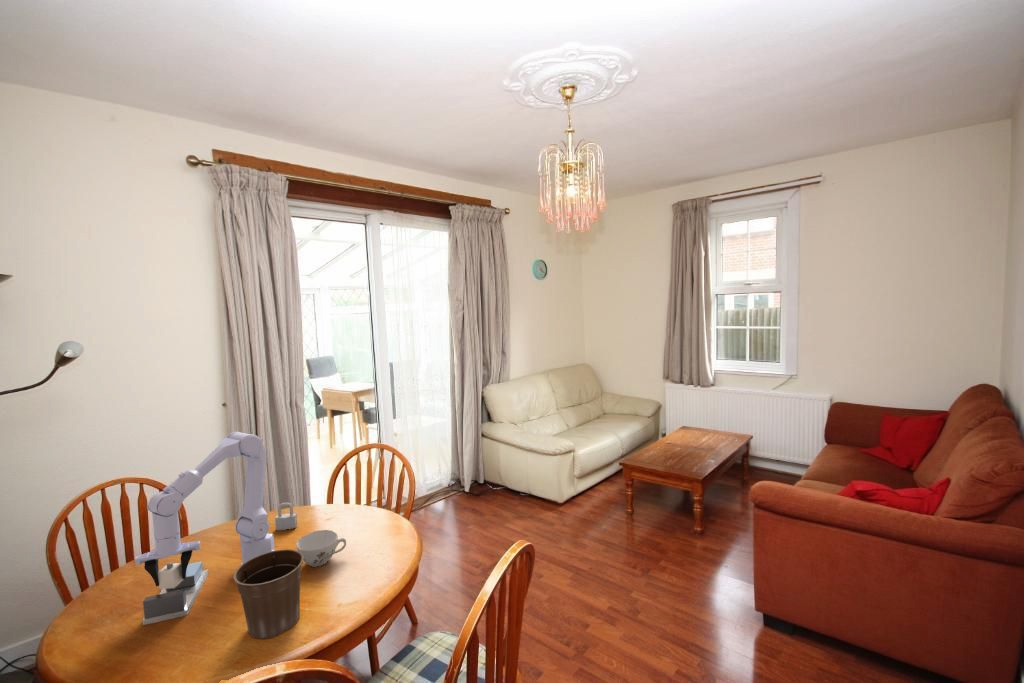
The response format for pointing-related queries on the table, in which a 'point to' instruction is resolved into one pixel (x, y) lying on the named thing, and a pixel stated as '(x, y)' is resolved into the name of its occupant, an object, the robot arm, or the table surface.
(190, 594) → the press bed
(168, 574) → the block
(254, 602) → the plant pot
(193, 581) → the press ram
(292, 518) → the padlock
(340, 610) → the table surface
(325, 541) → the teacup
